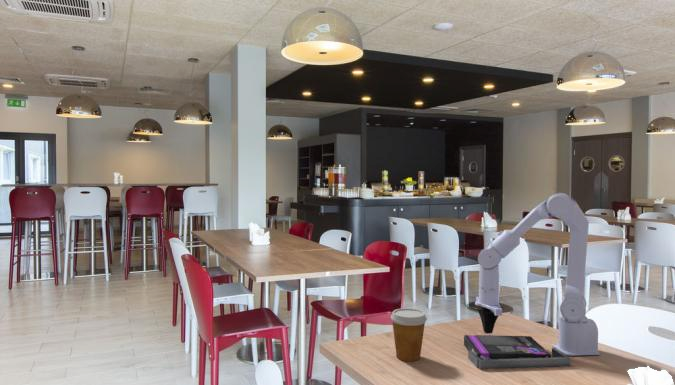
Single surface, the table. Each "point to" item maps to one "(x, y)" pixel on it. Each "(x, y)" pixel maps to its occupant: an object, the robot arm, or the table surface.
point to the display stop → (522, 361)
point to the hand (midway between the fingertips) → (488, 332)
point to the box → (504, 347)
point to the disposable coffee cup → (408, 333)
